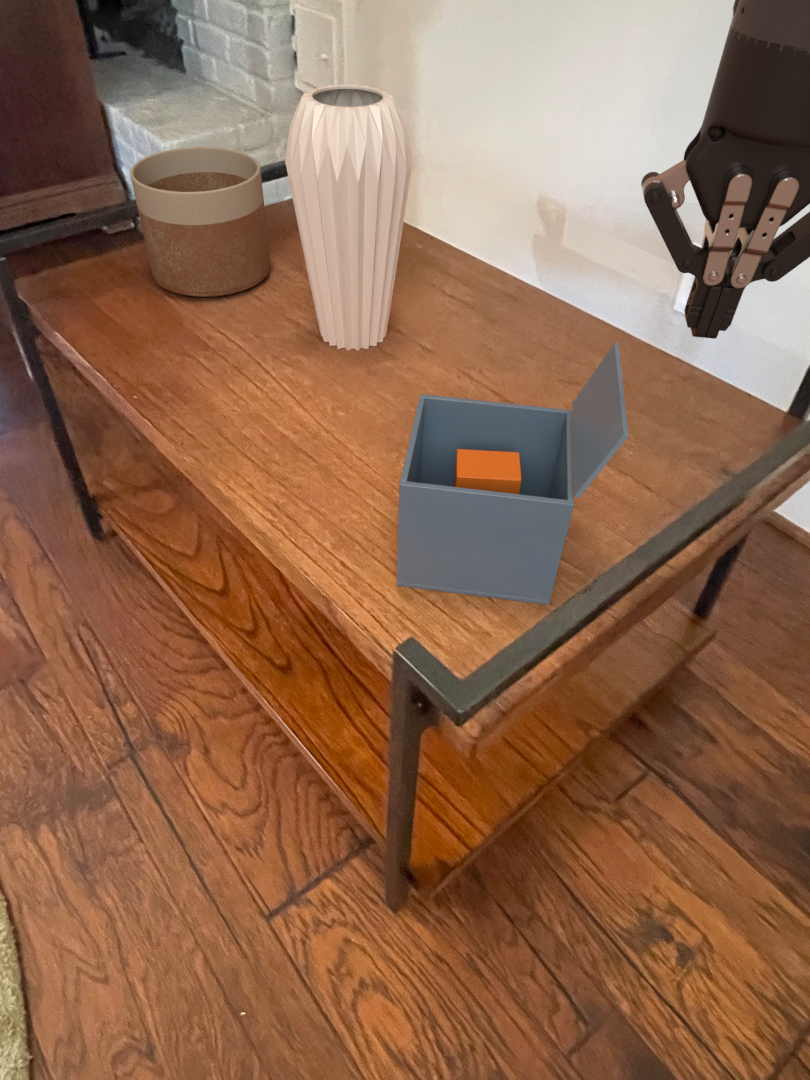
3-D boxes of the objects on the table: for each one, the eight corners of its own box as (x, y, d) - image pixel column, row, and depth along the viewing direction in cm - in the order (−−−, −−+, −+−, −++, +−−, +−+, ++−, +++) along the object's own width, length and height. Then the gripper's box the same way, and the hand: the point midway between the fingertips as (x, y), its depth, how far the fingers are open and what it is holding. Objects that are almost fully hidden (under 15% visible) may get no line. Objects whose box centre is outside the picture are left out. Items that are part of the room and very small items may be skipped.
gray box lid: (572, 402, 63) (576, 404, 63) (574, 496, 55) (579, 498, 55) (614, 341, 58) (619, 343, 59) (623, 434, 50) (629, 436, 50)
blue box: (550, 509, 72) (572, 409, 63) (548, 605, 63) (574, 504, 55) (415, 493, 73) (420, 393, 64) (396, 585, 64) (399, 484, 56)
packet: (506, 529, 69) (519, 451, 62) (507, 557, 66) (521, 480, 60) (449, 525, 69) (456, 448, 63) (448, 554, 66) (456, 476, 60)
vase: (282, 321, 95) (259, 85, 76) (376, 298, 100) (376, 71, 81) (326, 374, 87) (312, 124, 68) (426, 347, 91) (439, 106, 73)
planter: (212, 238, 111) (196, 137, 101) (294, 268, 105) (286, 164, 95) (128, 278, 102) (101, 171, 92) (213, 314, 96) (195, 203, 86)
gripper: (685, 32, 36) (605, 351, 48) (973, 52, 35) (817, 372, 47) (668, 2, 41) (600, 296, 54) (919, 18, 40) (791, 314, 53)
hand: (702, 331), depth 50 cm, fingers closed
